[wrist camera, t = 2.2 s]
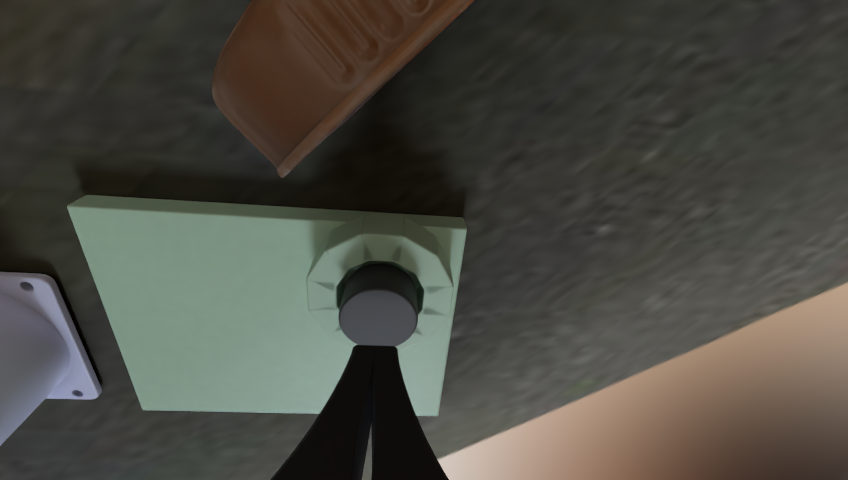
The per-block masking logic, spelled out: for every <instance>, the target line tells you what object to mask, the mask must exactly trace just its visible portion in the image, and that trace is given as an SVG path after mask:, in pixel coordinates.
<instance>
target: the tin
mask: <svg viewBox="0 0 848 480" xmlns="http://www.w3.org/2000/svg"><path fill="white" fill-rule="evenodd" d="M474 1H475V0H252V1H251V2H250V4H249V5H248V7H247V8H246V10H245V11H244V13H243V14H242V16H241V18H240V19H239V21H238V22H237V24H236V26H235V27H234V29H233V31H232V33H231V34H230V36H229V38H228V40H227V41H226V43H225V45H224V47H223V48H222V50H221V53H220V55H219V58H218V61H217V64H216V66H215V69H214V73H213V77H212V96H213V99H214V102H215V103H216V105H217V107H218V108H219V109H220V111H221V112H222V113H223V114H224V115H225V117H226V118H227V119H228V120H229V121H230V122H231V123H232V124H233V125H234V126H235V127H236V128H237V129H238V130H239V131H240V132H241V133H242V134H243V135H244V136H245V137H246V138H247V139H248V140H249V141H250V142H251V143H252V144H253V145H254V146H255V147H256V148H257V149H258V150H259V151H260V152H261V153H262V154H263V155H264V156H265V157H267V158H268V159H269V160H270V162H271V163H272V164H273V165H274V166H275V167H276V169H277V173H278V175H279V176H280V177H282V178H284V177H285V176H286V175H287V174H288V173H289V172H290V171H291V170H293V169H294V168H295V167H296V166H297V165H298V164H299V163H300V162H301V161H302V160H303V159H304V158H305V157H306V156H308V154H309V153H311V152H312V151H313V150H314V149H315V148H316V147H317V146H318V145H319V144H320V143H321V142H322V141H323V140H324V139H326V138H327V137H328V136H329V135H330V134H331V133H333V132H334V131H335V130H336V129H337V128H338V127H340V126H341V125H342V124H343V123H344V122H346V121H347V120H348V119H349V118H350V117H351V116H352V115H353V114H355V113H356V112H357V111H358V110H359V109H360V108H361V107H362V106H363V105H364V104H365V103H366V102H367V101H368V100H369V99H370V98H371V97H372V96H374V95H375V94H376V93H377V92H378V91H379V90H380V89H381V87H382V86H383V85H384V84H385V83H386V82H388V81H389V80H390V79H391V78H392V77H393V76H394V75H395V74H397V73H398V72H399V71H400V70H401V69H402V68H403V67H404V66H405V65H406V64H407V63H408V62H410V61H411V60H412V59H413V58H414V57H415V56H416V55H417V54H418V53H419V52H420V51H421V50H422V49H423V48H424V47H426V46H427V45H428V44H429V43H430V42H431V41H432V40H433V39H434V38H435V37H436V36H437V35H438V34H439V33H441V32H442V31H443V30H444V29H445V28H446V27H447V26H448V25H449V24H450V23H451V22H452V21H453V20H454V19H455V18H456V17H457V16H459V15H460V14H461V13H462V12H463V11H464V10H465V9H466V8H467V7H468V6H469V5H470V4H471V3H472V2H474Z"/></svg>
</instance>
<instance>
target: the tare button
mask: <svg viewBox="0 0 848 480" xmlns="http://www.w3.org/2000/svg"><path fill="white" fill-rule="evenodd" d="M338 318H339V324H340V327H341V329H342V331H343V333H344V334H345V335H346V336H347V338H349V339H350V340H351V341H352V342H354V343H356V344H357V345H379V346H395V347H396V346H398V345H400V344H402V343H404V342H405V341H406V340H408V339H409V338H410V337H411V335H412V334H413V333H414V331H415V329H416V327H417V323H418V306H417V290H416V286H415V283H414V281H413V280H412V278H411V277H410V276H409V275H408V274H407V273H406V272H405V271H403V270H402V269H400V268H398V267H396V266H393V265H389V264H371V265H367V266H364V267H362V268H360V269H358V270H357V271H355V272H354V273H353V274H352V275H351V276H350V277H349V279H348V280H347V282H346V284H345V288H344V293H343V297H342V301H341V306H340V310H339V317H338Z"/></svg>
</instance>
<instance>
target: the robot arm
mask: <svg viewBox="0 0 848 480" xmlns="http://www.w3.org/2000/svg"><path fill="white" fill-rule="evenodd" d="M101 392H102V388H101V386H100V384H99V381H98V379H97V377H96V374H95V372H94V370H93V367H92V365H91V363H90V360H89V358H88V356H87V353H86V351H85V349H84V347H83V344H82V342H81V340H80V337H79V335H78V333H77V330H76V328H75V326H74V323H73V321H72V319H71V316H70V314H69V312H68V309H67V307H66V305H65V302H64V300H63V298H62V295H61V293H60V291H59V288H58V286H57V284H56V282H55V280H54V279H53V278H52V277H50V276H48V275H46V274H39V273H17V272H0V446H1V445H2V444H3V443H4V441H5V440H6V439H7V438H8V437H9V436H10V435H11V434H12V433H13V432H14V431H15V430H16V429H17V428H18V427H19V426H20V425H21V424H22V423H23V422H24V420H25V419H26V418H27V417H28V416H29V415H30V414H31V413H32V412H33V411H34V410H35V409H36V408H37V407H38V406H39V405H40V404H41V403H42V402H43V400H44V399H45V398H49V399H95V398H97V397H98V396H99V395H100V393H101ZM371 421H372V480H449V479H448V478H447V476H446V474H445V473H444V471H443V470H442V468H441V466H440V464H439V462H438V460H437V458H436V457H435V455H434V453H433V451H432V449H431V447H430V445H429V443H428V441H427V439H426V437H425V435H424V432H423V430H422V428H421V426H420V423H419V421H418V419H417V416H416V414H415V411H414V409H413V406H412V404H411V401H410V398H409V395H408V392H407V389H406V386H405V383H404V380H403V376H402V372H401V368H400V363H399V357H398V349H397V348H396V347H395V346H379V345H356V346H354V347H353V349H352V352H351V355H350V358H349V360H348V363H347V365H346V367H345V369H344V371H343V373H342V375H341V378H340V380H339V381H338V383H337V385H336V387H335V389H334V391H333V392H332V394H331V396H330V398H329V399H328V401H327V403H326V404H325V406H324V408H323V409H322V411H321V412H320V414H319V416H318V417H317V419H316V420H315V422H314V423H313V425H312V426H311V428H310V429H309V431H308V432H307V434H306V435H305V436H304V438H303V439H302V441H301V442H300V443H299V445H298V446H297V447H296V449H295V450H294V451H293V453H292V454H291V455H290V456H289V458H288V459H287V460H286V461H285V463H284V464H283V465H282V466H281V468H280V469H279V470H278V471H277V472H276V474H275V475H274V476H273V477H272V478H271V480H362V474H363V468H364V463H365V457H366V451H367V445H368V439H369V433H370V427H371Z"/></svg>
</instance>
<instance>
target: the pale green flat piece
mask: <svg viewBox="0 0 848 480" xmlns="http://www.w3.org/2000/svg"><path fill="white" fill-rule="evenodd" d="M67 209H68V211H69V214H70V217H71V219H72V222H73V225H74V227H75V230H76V233H77V236H78V238H79V241H80V244H81V246H82V249H83V252H84V254H85V257H86V260H87V262H88V265H89V268H90V270H91V273H92V276H93V278H94V281H95V284H96V286H97V289H98V292H99V294H100V297H101V300H102V303H103V305H104V308H105V311H106V313H107V316H108V319H109V321H110V324H111V327H112V329H113V332H114V335H115V337H116V340H117V343H118V345H119V348H120V351H121V353H122V356H123V359H124V361H125V364H126V367H127V370H128V372H129V375H130V378H131V380H132V383H133V386H134V388H135V391H136V394H137V396H138V399H139V402H140V404H141V407H142V409H143V410H166V411H215V412H264V413H312V414H320V412H321V411H322V409H323V408H324V406H325V404H326V403H327V401H328V399H329V398H330V396H331V394H332V392H333V391H334V389H335V387H336V385H337V383H338V381H339V380H340V378H341V375H342V373H343V371H344V369H345V367H346V365H347V363H348V360H349V358H350V355H351V352H352V349H353V347H354V346H356V345H357V344H356V343H354V342H352V341H351V340H350V339H349V338H347V336H346V335H345V334H344V333H343V331H342V329H341V327H340V324H339V318H338V317H339V310H340V306H341V301H342V297H343V293H344V288H345V284H346V282H347V280H348V279H349V277H350V276H351V275H352V274H353V273H354V272H355V271H357V270H358V269H360V268H362V267H364V266H367V265H371V264H389V265H393V266H396V267H398V268H400V269H402V270H403V271H405V272H406V273H407V274H408V275H409V276H410V277H411V278H412V280H413V281H414V283H415V286H416V290H417V306H418V323H417V327H416V329H415V331H414V333H413V334H412V335H411V337H410V338H409V339H408V340H406V341H405V342H404V343H402V344H400V345H398V346H396V348H397V349H398V357H399V363H400V368H401V372H402V376H403V380H404V383H405V386H406V389H407V392H408V395H409V398H410V401H411V404H412V406H413V409H414V411H415V414H416V416H438V414H439V407H440V401H441V394H442V388H443V381H444V375H445V368H446V362H447V355H448V349H449V342H450V336H451V329H452V323H453V317H454V310H455V304H456V297H457V291H458V284H459V278H460V271H461V265H462V258H463V252H464V245H465V239H466V233H467V228H466V225H465V222H464V218H462V217H448V216H431V215H414V214H398V213H381V212H365V211H348V210H331V209H315V208H298V207H281V206H265V205H248V204H232V203H215V202H198V201H182V200H165V199H149V198H132V197H115V196H99V195H86V196H84V197H82V198H80V199H78V200H76V201H75V202H73V203H71V204H69V205H67Z"/></svg>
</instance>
